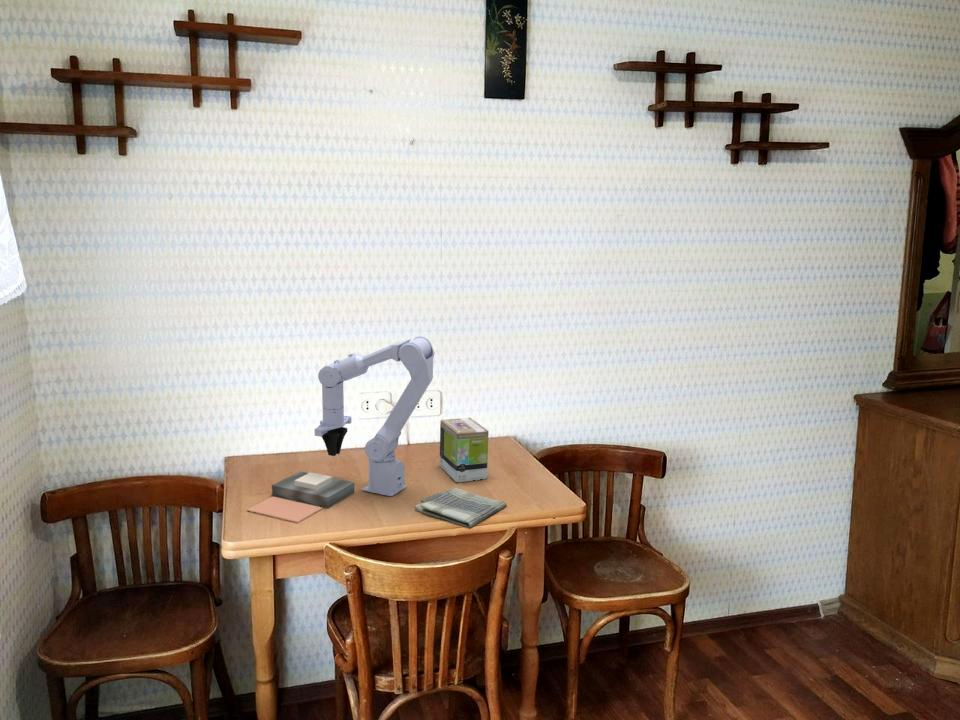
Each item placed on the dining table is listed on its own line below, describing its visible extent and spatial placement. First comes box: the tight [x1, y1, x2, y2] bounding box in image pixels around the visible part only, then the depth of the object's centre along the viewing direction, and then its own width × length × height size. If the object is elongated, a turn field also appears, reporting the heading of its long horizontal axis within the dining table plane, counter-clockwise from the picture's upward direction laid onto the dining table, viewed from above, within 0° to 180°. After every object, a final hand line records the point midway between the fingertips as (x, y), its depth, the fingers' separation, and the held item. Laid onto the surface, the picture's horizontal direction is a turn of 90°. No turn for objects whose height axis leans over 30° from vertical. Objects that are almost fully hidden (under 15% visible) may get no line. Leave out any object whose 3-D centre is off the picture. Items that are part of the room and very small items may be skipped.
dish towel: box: [414, 487, 507, 529], centre depth 200 cm, size 19×18×3 cm
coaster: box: [294, 471, 333, 490], centre depth 206 cm, size 7×7×2 cm
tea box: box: [439, 417, 490, 483], centre depth 224 cm, size 15×10×15 cm, turn 22°
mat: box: [246, 496, 324, 524], centre depth 196 cm, size 16×10×1 cm, turn 65°
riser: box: [271, 471, 356, 509], centre depth 206 cm, size 18×12×3 cm, turn 65°
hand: (333, 454), depth 213 cm, fingers closed
